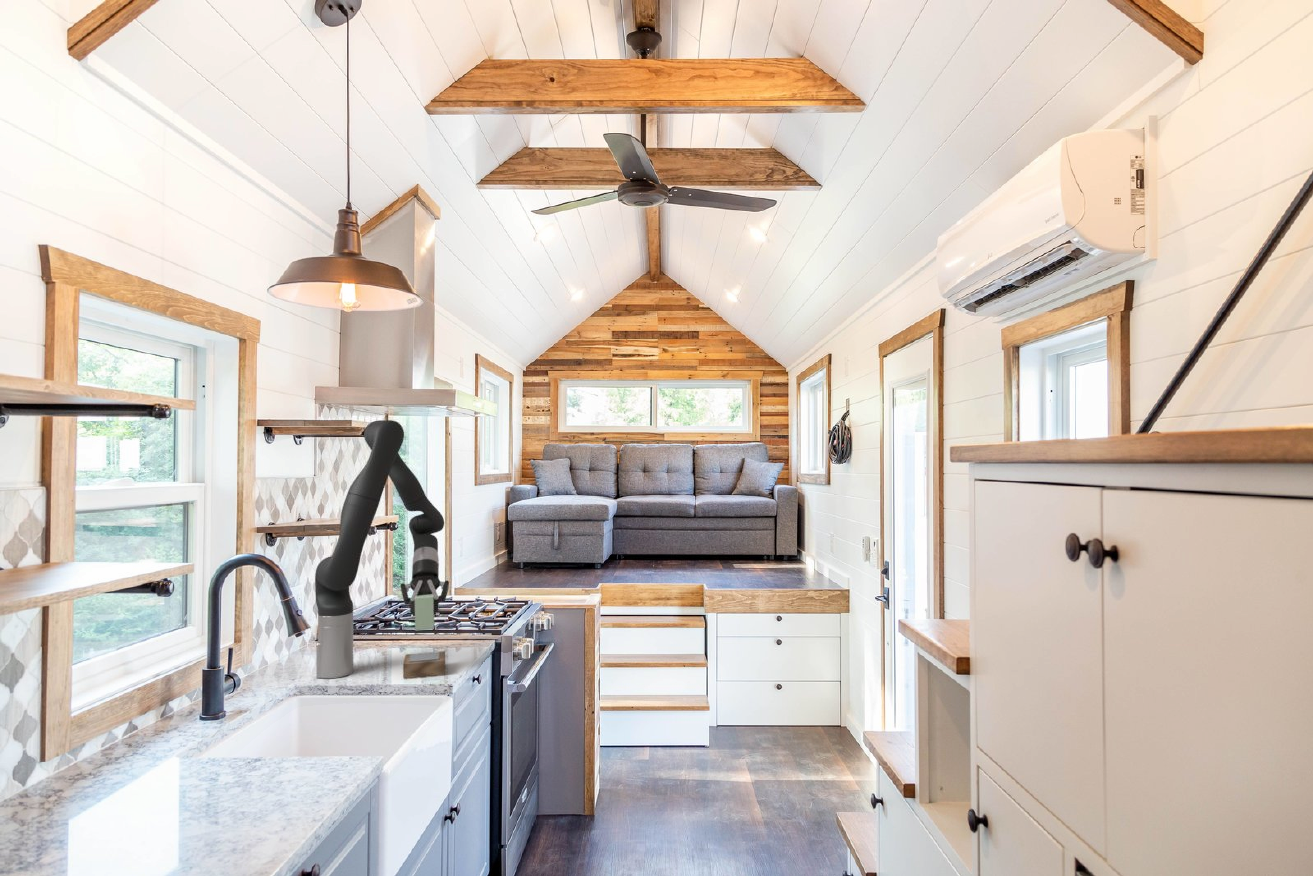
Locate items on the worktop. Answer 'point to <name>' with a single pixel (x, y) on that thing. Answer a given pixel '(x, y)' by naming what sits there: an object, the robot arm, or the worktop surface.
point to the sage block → (424, 612)
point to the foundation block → (424, 664)
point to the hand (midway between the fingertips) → (424, 613)
